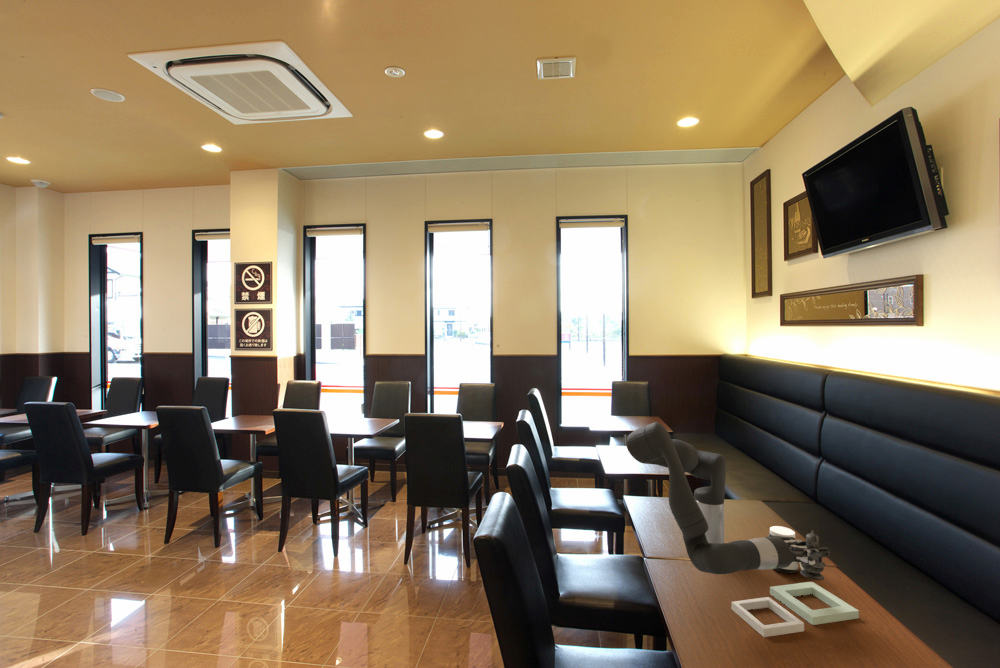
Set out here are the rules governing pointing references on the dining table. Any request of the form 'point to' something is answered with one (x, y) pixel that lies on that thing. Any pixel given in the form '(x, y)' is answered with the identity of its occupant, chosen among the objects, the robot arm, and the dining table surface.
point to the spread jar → (787, 533)
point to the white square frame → (773, 629)
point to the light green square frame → (819, 616)
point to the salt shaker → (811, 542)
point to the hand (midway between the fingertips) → (821, 548)
